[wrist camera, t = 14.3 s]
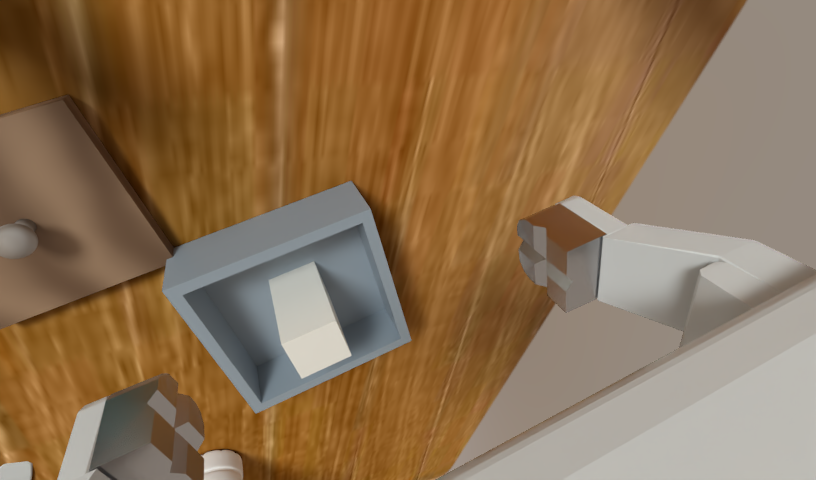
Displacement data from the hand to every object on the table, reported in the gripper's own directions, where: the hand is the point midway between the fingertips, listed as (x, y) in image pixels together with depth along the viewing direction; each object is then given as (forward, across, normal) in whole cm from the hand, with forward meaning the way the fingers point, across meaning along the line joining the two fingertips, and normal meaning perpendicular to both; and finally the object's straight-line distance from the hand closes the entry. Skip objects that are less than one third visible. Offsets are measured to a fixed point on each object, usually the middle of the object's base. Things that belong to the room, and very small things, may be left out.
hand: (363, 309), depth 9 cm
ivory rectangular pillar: (+28, +4, +20) cm, 35 cm away
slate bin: (+29, +4, +20) cm, 35 cm away
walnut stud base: (+29, +19, +5) cm, 35 cm away
